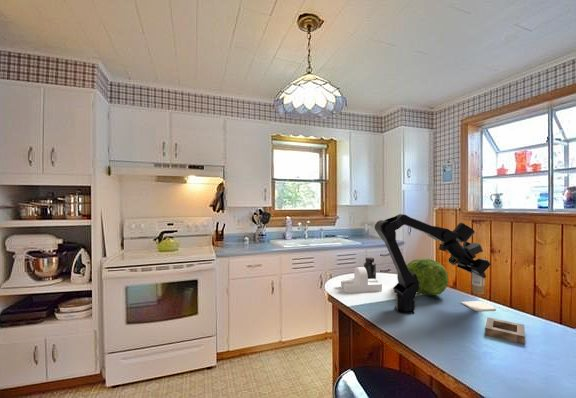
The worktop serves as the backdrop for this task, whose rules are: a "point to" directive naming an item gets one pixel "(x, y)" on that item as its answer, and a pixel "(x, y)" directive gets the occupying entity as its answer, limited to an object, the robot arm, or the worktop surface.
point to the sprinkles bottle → (477, 284)
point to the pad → (478, 306)
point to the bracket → (361, 282)
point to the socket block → (505, 330)
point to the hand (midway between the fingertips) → (480, 275)
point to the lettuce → (429, 276)
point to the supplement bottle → (370, 268)
